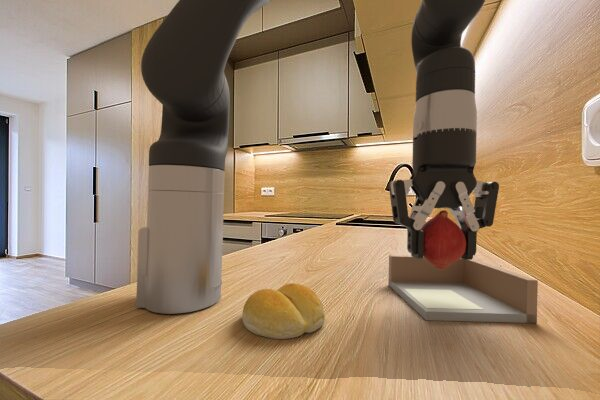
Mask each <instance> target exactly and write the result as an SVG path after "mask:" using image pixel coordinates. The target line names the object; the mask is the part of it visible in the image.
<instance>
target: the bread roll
mask: <svg viewBox="0 0 600 400" xmlns="http://www.w3.org/2000/svg"><path fill="white" fill-rule="evenodd" d="M319 297H320V296H318V294H317V293H316V292H315V291H314V290H313V289H311V288H310V287H308V286H306V285H303V284H300V283H286V284H284V285H281V286H280V287H279V288H278V289H272V288H262V289H259V290H257V291H255V292H254V293H252V294H251V295H250V296H249V297H248V298H247V300H246V301H245V303H244V305H243V308H242V314H241V315H242V316H241V319H242V322H243V323H242V324H243V325H244V327H245V328H246V330H248V331H250V332H251V333H253V334H255V335H257V336H261V337H265V338H269V339H275V340H276V339H277V340H288V339H293V338H297V337H300V336H302V335H303V334H304V333H306V334H309V333H313V332H315V331H317V330H318V329H320V328H321V326H323V325H324V324H325V321H326V314H325V308H324V305H323V303H322V300H321V299H320V298H319Z"/></svg>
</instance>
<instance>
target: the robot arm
mask: <svg viewBox="0 0 600 400" xmlns="http://www.w3.org/2000/svg"><path fill="white" fill-rule="evenodd" d="M177 1H178V2H176V4H175V5H174V6H173V8H172V9H171V11H169V13H168V15H166V16H165V18H164V19H163V21H162V22H161V23H160V24H159V26H158V27H157V29H156V30H155V32H154V33H153V34H152V35H151V36H150V37H151V38H150V39H149V41H148V42H147V44H146V46H145V48H144V51H143V53H142V56H141V62H140V63H141V64H140V70H141V76H142V77H141V78H142V80H143V82H144V84H145V87H146V88H147V90H148V91H149V93H150V94H151V95H152V96H153V97H155V99H156V100H157V101H158V102H159V103H160V104H161V105H162V109H161V110H162V111H161V124H160V125H161V126H160V135H159V137H158V139H157V140H156V141H155V142H153V143H152V144H151V145H150V147H149V149H148V167H147V168H148V172H147V174H148V176H147V204H146V205H147V206H146V208H147V209H146V226H145V227H141V228H139V230H138V235H137V237H138V239H137V240H138V241H137V243H138V244H137V266H136V267H137V268H136V269H137V270H136V271H137V272H136V299H135V302H136V303H135V308H141V309H146V310H147V311H150V312H152V313H156V314H157V313H158V314H167V315H170V314H171V315H172V314H173V315H174V314H183V313H184V314H186V313H191V312H195V311H200V310H203V309H206V308H208V307H211V306H213V305H215V304H217V303H218V302H219V301H220V299H221V298H222V297H221V296H222V286H223V285H222V284H223V283H222V281H223V280H222V273H223V272H222V271H223V247H224V246H223V240H224V238H223V237H224V211H225V209H224V208H225V207H224V205H225V179H226V178H225V170H226V158H227V154H228V149H229V148H228V147H229V131H230V127H229V126H230V109H231V108H230V106H231V105H230V104H231V103H230V102H231V101H230V100H231V98H230V97H231V95H230V87H229V83H228V80H227V78H226V74H225V68H226V65H227V62H228V60H229V57H230V55H231V51H232V49H233V47H234V45H235V43H236V41H237V39H238V37H239V34H240V32H241V30H242V29H243V27H244V26H245V24H246V22H247V21H248V19H250V18H251V16H252V15H254V13H256V12H257V11H259V10H260V9H262V8H263V7H264V6H266V5H268V4H269V3H270V2H272V0H177ZM485 2H486V0H422V1H421V3H420V6H419V8H418V10H417V11H416V14H415V17H414V20H413V22H412V27H411V35H410V36H411V38H410V41H411V43H410V44H411V45H410V46H411V53H412V57H413V64H414V67H415V70H416V78H415V81H416V82H415V108H414V113H413V120H412V121H413V122H412V125H413V126H412V127H413V128H412V160H411V161H412V164H411V166H412V173H411V175H410V178H409V179H404V180H403V179H395V180H392V181H390V182H389V183H388V189H389V196H390V206H391V213H392V214H391V215H392V220H393V221H392V222H394V223H395V224H397V225H400V226H403V227H405V228H406V230H407V231H406V232H407V238H406V239H407V240H406V243H407V245H406V247H407V248H406V249H407V251H408V252H407V253H410V256H412V257H414V258H416V259H422V258H423V247H424V231H421V228H422V227H423V225H424V224H425V223H426V222H427V221H426V220H427V218H428V217H429V216H430V215H431V214H432V212H433V210H434V209H449V211H450V214H451V215H453V216H454V218H455V220H456V224H457V225H458V226H459V227H460V229H461V230H462V232H463V233H464V236H465V239H466V249H465V252H464V254H463V256H462V257H461V258H463V259H466V260H471V259H474V256H475V255H476V254H477V241H478V239H477V237H478V236H477V235H478V231H479V230H480V229H482V228H485V227H491V226H493V224H494V220H495V213H496V208H497V202H498V201H497V200H498V195H499V189H500V184H499V183H498V182H497V181H487V182H485V181H480V180H477V178H476V176H475V174H474V169H475V167H476V164H477V134H478V133H477V129H478V127H477V125H478V124H477V123H478V113H477V112H478V110H477V102H476V62H475V57H474V53H472V51H471V50H470V49H469V48H468V49H467V48H466V47H462V46H461V44H462V37H463V33H464V32H465V30H466V29H467V28H468V27H469V25H470V24H471V23H472V21H474V18H476V16H477V15H478V14H479V12H480V11H481V9H482V8H483V6H484V5H485ZM410 189H411V190H412V191H413V193H414V195H415V196H416V198H415V200H414V203H413V204H412V207H411V208H410V211H411V212H410V214H409V211H408V210H409V209H408V203H407V195H409V193H410ZM472 192H473V195H474V197H475V199H474V205H473V203H472V200H471V198H470V195H471V194H472Z"/></svg>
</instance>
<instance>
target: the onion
mask: <svg viewBox="0 0 600 400" xmlns="http://www.w3.org/2000/svg"><path fill="white" fill-rule="evenodd" d="M448 215H449V212H448V211H447V210H440V211H439V212H438V213H437V214H436V215H434V217H431V218H430V219H429V220H428V221H425V223H424V225H423V227H422V228H421V231H424V247H423V256H424V258H425V259H427V260H428V261H429V262H430V263H431V264H433V265H434V266H435V267H436V268H438V269H440V270H441V269H443V270H444V269H446V268H447V267H448V266H449V265H451V264H453V263H454V262H456V261H457V260H459V259H460V258H461V257H462V256H463V254H464V252H465V249H466V239H465V236H464V233H463V232H462V230H461V228H460V227H459V225H458V223H457V222H454V221H453V219H450V218H449V217H448Z"/></svg>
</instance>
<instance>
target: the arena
mask: <svg viewBox="0 0 600 400" xmlns="http://www.w3.org/2000/svg"><path fill="white" fill-rule="evenodd" d="M387 279H388V284H387V285H388V287H390V288H391V289H392V290H393V291H394V292H395V293H397V295H398V296H400V297H401V298H402V299H403V300H404V301H405V302H406V303H407V304H408V305H409V306H410V307H411V308H412V309H414V311H416V312H417V313H418V314H419V315H420V316H421V317H422V319H424V320H425V321H443V322H444V321H445V322H478V323H479V322H480V323H481V322H482V323H512V324H513V323H514V324H517V323H519V324H537V322H538V321H537V320H538V294H539V293H538V285H539V284H538V283H539V282H538V281H539V280H537V279H534V278H532V277H529V276H526V275H522V274H520V273H517V272H513V271H510V270H507V269H505V268H502V267H498V266H495V265H492V264H489V263H487V262H483V261H481V260H477V259H474V258H473V259H471V260H466V259H463V258H460V259H459V260H457V261H456V262H454V263H453V264H451V265H449V266H448V267H447V268H446V269H444V270H443V269H441V270H440V269H438V268H436V267H435V266H434V265H433V264H431V263H430V262H429V261H428V260H427V259H425V258H424V256H423V258H422V259H416V258H414V257H412V255H411V254H410V255H408V254H406V255H404V254H389V255H388V278H387Z"/></svg>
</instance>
